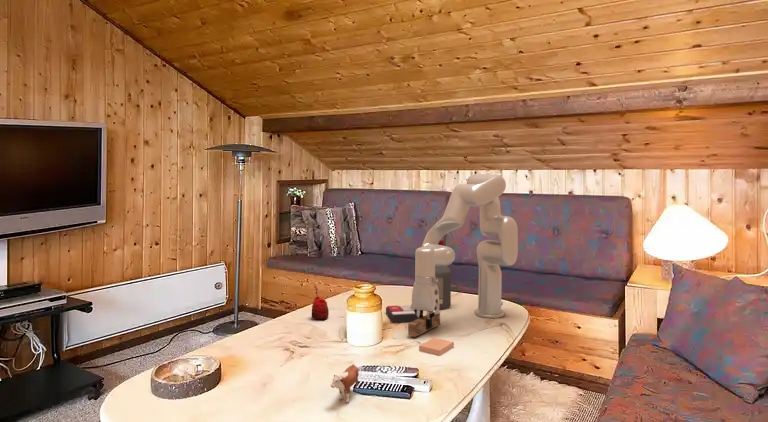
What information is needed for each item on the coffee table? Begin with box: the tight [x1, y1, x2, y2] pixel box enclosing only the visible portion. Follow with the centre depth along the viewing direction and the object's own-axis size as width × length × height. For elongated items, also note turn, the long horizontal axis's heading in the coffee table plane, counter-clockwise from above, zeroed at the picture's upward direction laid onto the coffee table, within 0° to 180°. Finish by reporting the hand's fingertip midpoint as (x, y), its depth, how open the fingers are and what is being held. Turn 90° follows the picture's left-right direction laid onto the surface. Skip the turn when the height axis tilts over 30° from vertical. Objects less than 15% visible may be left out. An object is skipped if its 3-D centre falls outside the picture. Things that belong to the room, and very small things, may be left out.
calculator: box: [385, 304, 418, 324], centre depth 214 cm, size 11×4×15 cm
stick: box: [407, 313, 441, 338], centre depth 195 cm, size 18×3×4 cm, turn 144°
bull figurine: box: [330, 364, 360, 404], centre depth 140 cm, size 4×13×8 cm, turn 159°
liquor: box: [435, 239, 452, 311], centre depth 228 cm, size 9×9×30 cm
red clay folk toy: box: [311, 284, 330, 321], centre depth 212 cm, size 8×7×15 cm
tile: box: [418, 337, 455, 357], centre depth 177 cm, size 2×8×10 cm
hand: (424, 327), depth 195 cm, fingers closed on stick, 2 cm apart
